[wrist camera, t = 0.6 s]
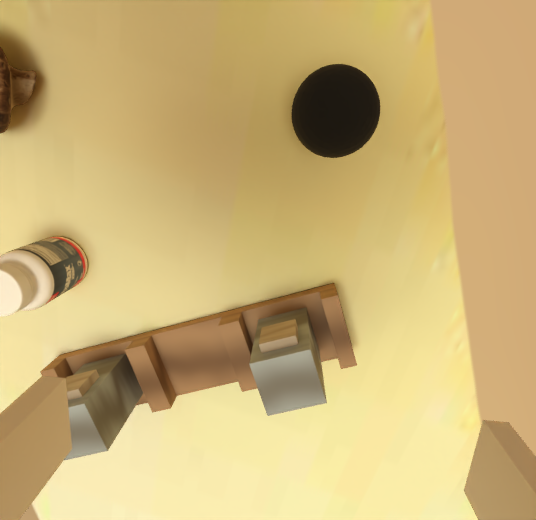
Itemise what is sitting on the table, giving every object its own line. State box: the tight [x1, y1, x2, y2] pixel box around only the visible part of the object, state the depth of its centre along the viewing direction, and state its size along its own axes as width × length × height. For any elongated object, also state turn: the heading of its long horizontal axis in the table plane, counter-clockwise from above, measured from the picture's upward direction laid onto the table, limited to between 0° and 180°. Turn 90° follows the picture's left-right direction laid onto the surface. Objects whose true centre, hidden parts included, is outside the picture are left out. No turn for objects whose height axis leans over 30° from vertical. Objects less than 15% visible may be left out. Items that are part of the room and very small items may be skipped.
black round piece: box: [292, 64, 380, 158], centre depth 28 cm, size 6×6×10 cm
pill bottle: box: [0, 237, 88, 316], centre depth 33 cm, size 5×5×9 cm
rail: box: [41, 283, 357, 460], centre depth 35 cm, size 7×30×9 cm, turn 107°
